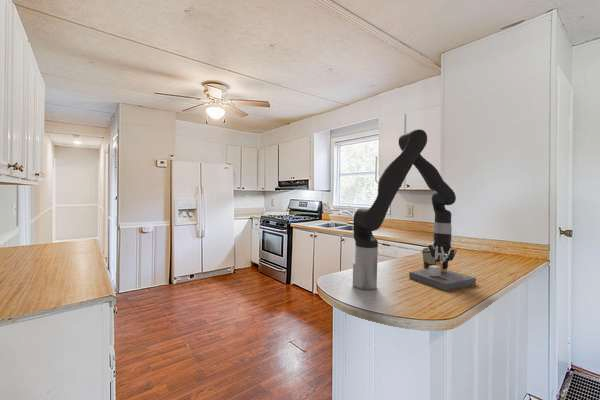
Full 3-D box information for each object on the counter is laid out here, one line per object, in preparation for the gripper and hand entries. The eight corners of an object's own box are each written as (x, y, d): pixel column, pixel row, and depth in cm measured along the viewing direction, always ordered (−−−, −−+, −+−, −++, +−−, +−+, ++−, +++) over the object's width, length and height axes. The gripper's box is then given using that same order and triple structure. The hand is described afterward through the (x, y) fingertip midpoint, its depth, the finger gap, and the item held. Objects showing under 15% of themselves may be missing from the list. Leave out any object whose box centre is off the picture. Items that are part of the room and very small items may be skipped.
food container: (440, 266, 154) (441, 248, 154) (445, 269, 148) (446, 250, 148) (417, 265, 156) (418, 247, 155) (421, 268, 150) (422, 249, 149)
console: (446, 291, 114) (446, 283, 114) (409, 278, 131) (409, 271, 131) (475, 284, 123) (475, 277, 123) (437, 273, 140) (437, 267, 140)
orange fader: (441, 271, 130) (441, 263, 130) (435, 270, 133) (436, 261, 133) (446, 270, 132) (447, 262, 132) (441, 269, 135) (441, 261, 135)
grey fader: (434, 276, 122) (434, 267, 122) (428, 274, 125) (428, 266, 125) (440, 275, 124) (440, 266, 124) (434, 273, 127) (434, 265, 127)
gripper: (424, 230, 137) (423, 265, 137) (451, 234, 124) (450, 272, 124) (434, 229, 140) (433, 263, 140) (461, 233, 127) (460, 270, 128)
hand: (441, 267), depth 132 cm, fingers closed on orange fader, 3 cm apart
